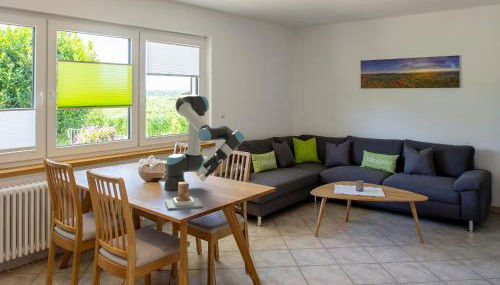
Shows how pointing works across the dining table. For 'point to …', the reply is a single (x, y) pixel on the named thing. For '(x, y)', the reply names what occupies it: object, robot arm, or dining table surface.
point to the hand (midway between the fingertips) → (199, 177)
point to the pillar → (183, 191)
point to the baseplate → (183, 204)
